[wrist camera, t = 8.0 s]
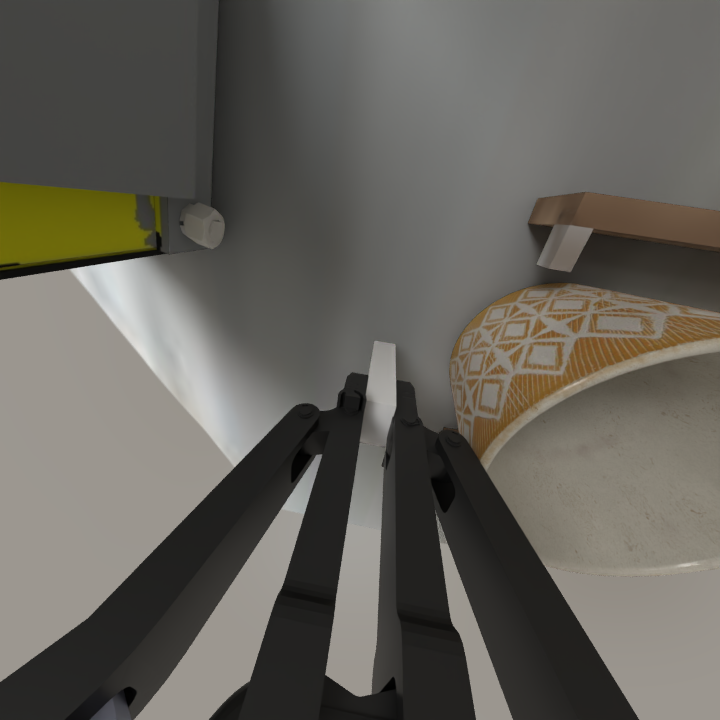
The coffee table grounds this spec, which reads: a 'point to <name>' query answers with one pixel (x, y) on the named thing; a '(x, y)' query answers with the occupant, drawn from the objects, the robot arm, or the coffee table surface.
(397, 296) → the coffee table surface
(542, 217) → the walnut cradle
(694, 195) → the coffee table surface
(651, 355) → the planter
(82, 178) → the electrical component
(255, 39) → the coffee table surface
